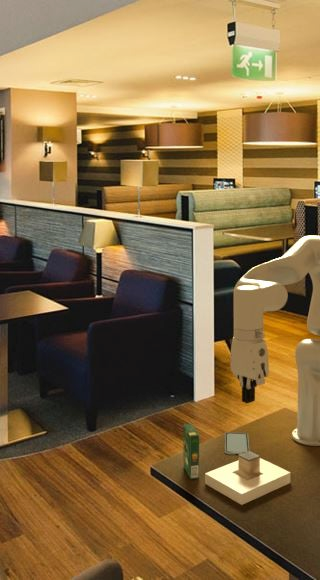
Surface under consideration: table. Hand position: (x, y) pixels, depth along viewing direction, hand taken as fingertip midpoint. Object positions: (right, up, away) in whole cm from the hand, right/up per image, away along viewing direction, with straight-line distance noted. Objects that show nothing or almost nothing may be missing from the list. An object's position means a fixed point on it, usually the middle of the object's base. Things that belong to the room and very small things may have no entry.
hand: (248, 401), depth 164 cm
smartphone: (0, -19, +29) cm, 34 cm away
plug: (+1, -23, +4) cm, 23 cm away
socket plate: (0, -23, +4) cm, 23 cm away
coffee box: (-14, -22, +10) cm, 28 cm away
